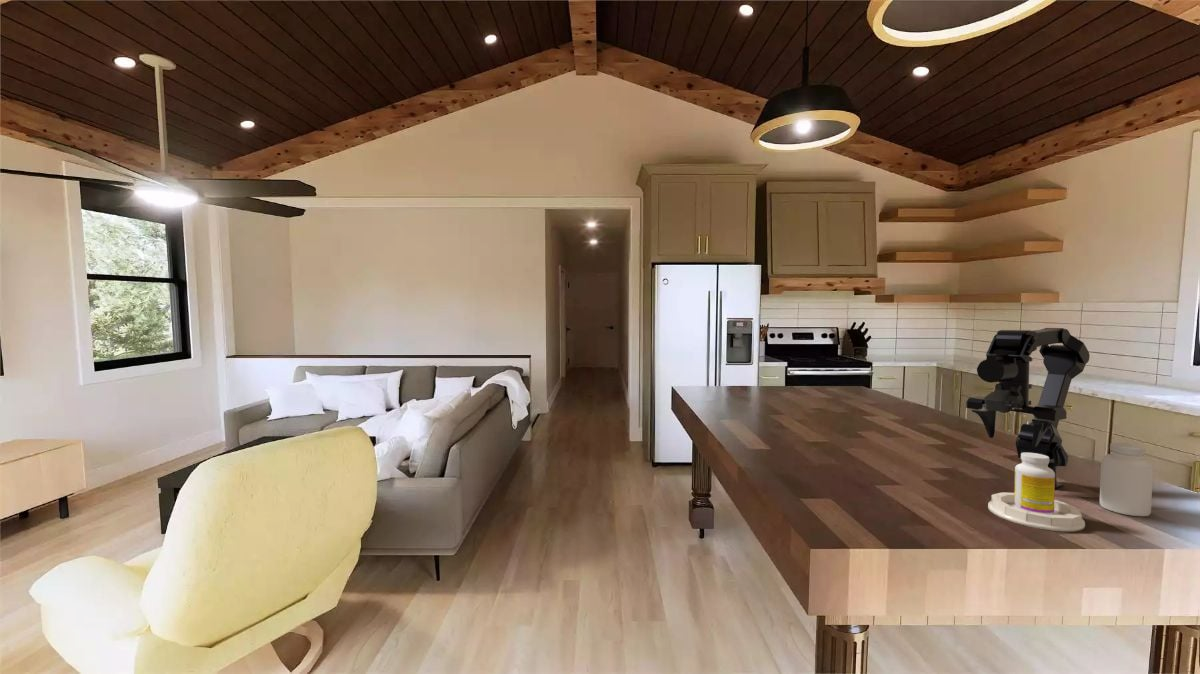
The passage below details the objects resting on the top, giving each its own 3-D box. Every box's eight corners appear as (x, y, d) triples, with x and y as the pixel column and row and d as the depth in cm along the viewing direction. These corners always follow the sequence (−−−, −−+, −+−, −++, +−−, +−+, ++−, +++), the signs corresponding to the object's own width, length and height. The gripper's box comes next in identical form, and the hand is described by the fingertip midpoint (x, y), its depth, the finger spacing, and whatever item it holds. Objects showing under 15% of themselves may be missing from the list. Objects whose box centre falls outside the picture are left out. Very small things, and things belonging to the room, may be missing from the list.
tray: (1011, 498, 118) (1012, 487, 117) (1100, 523, 103) (1100, 511, 103) (972, 509, 111) (972, 498, 111) (1061, 537, 96) (1061, 524, 96)
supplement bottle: (1062, 519, 103) (1063, 460, 103) (1026, 517, 104) (1028, 458, 104) (1040, 507, 110) (1041, 451, 109) (1007, 505, 111) (1008, 450, 110)
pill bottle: (1144, 520, 104) (1146, 452, 103) (1093, 507, 111) (1095, 443, 111) (1157, 513, 108) (1159, 447, 107) (1107, 501, 115) (1108, 439, 114)
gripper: (953, 378, 125) (952, 437, 126) (1042, 386, 108) (1041, 455, 109) (979, 375, 130) (978, 432, 130) (1068, 383, 113) (1066, 449, 113)
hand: (1012, 441), depth 120 cm, fingers open, 9 cm apart
